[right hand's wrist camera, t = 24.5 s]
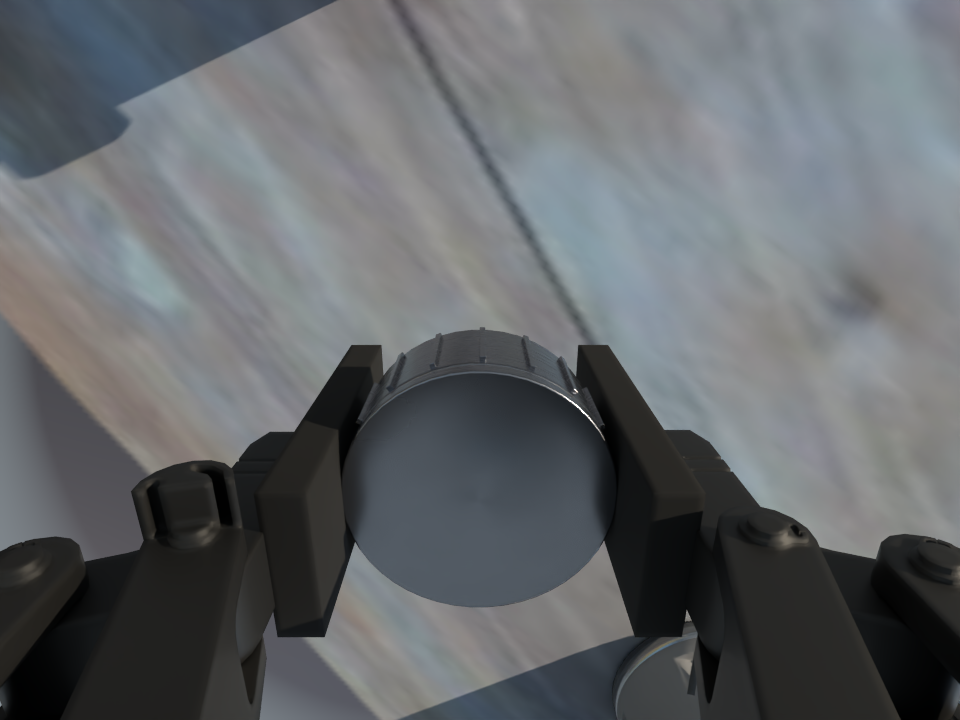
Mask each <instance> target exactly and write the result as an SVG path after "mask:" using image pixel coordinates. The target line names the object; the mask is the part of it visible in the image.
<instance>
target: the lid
mask: <svg viewBox="0 0 960 720" xmlns="http://www.w3.org/2000/svg"><path fill="white" fill-rule="evenodd" d="M356 423H357V424H359V426H358V428H357V431H356V433H355V435H354V437H353V440H352V442H351V444H350V447H349V449H348V452H347V455H346V457H345V460H344V465H343V469H342V474H341V487H342V498H343V508H344V516H345V520H346V523H347V525H348V528H349V530H350V533H351V535H352V537H353V539H354V540H355V542H356V544H357V545H358V547H359V549H360V550H361V551H362V553H363V554H364V555H365V556H366V558H367V559H368V560H369V561H370V562H371V563H372V564H373V565H374V566H375V567H376V568H377V569H378V570H379V571H380V572H381V573H382V574H384V575H385V576H386V577H387V578H389V579H390V580H391V581H393V582H394V583H396V584H398V585H399V586H401V587H403V588H404V589H406V590H408V591H410V592H412V593H415V594H417V595H419V596H421V597H424V598H427V599H430V600H433V601H436V602H440V603H445V604H450V605H455V606H465V607H494V606H504V605H509V604H513V603H518V602H522V601H525V600H528V599H531V598H535V597H537V596H539V595H542V594H544V593H546V592H548V591H551V590H552V589H554V588H556V587H557V586H559V585H561V584H563V583H564V582H566V581H567V580H568V579H570V578H571V577H572V576H574V575H575V574H576V573H578V572H579V571H580V570H581V569H582V568H583V567H584V566H585V565H586V564H587V563H588V562H589V561H590V560H591V558H592V557H593V556H594V555H595V553H596V552H597V551H598V549H599V548H600V546H601V545H602V543H603V541H604V540H605V538H606V536H607V534H608V531H609V529H610V527H611V524H612V522H613V518H614V514H615V510H616V502H617V493H618V478H617V471H616V467H615V462H614V458H613V456H612V453H611V450H610V448H609V445H608V443H607V440H606V438H605V436H604V434H603V431H602V430H603V429H605V428H606V427H605V425H604V423H603V421H602V419H601V416H600V414H599V412H598V410H597V408H596V405H595V403H594V401H593V399H592V397H591V395H590V392H589V390H588V388H587V387H586V388H584V389H583V387H582V386H581V384H580V382H579V380H578V379H577V378H576V376H575V375H574V374H573V372H572V371H571V370H570V369H569V368H568V367H567V364H566V362H565V359H564V358H563V357H562V356H561V357H560V358H558V357H557V356H555V355H554V354H553V353H551V352H550V351H549V350H547V349H545V348H544V347H542V346H540V345H538V344H537V343H535V342H533V341H530V340H529V338H528V336H525V335H523V337H520V336H517V335H513V334H509V333H505V332H499V331H491V330H485V328H484V327H480V330H467V331H459V332H453V333H450V334H446V335H441V333H439V334H436V337H435V338H433V339H431V340H428V341H426V342H424V343H422V344H420V345H419V346H417V347H415V348H413V349H411V350H410V351H409V352H407V353H406V354H405V355H404V354H403V353H401V354H400V355H399V356H398V358H397V361H396V362H395V363H394V364H393V365H392V366H391V367H390V368H389V369H388V371H387V372H386V373H385V375H384V376H383V377H382V378H381V380H380V381H379V383H378V384H377V383H374V384H373V386H372V388H371V390H370V392H369V395H368V397H367V399H366V401H365V403H364V406H363V408H362V410H361V412H360V414H359V417H358V419H357V421H356Z"/></svg>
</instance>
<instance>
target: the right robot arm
mask: <svg viewBox="0 0 960 720" xmlns="http://www.w3.org/2000/svg"><path fill="white" fill-rule="evenodd" d="M382 377H383V363H382V348H381V345H351V347H350V348H349V350H348V351H347V353H346V354H345V356H344V357H343V359H342V360H341V362H340V363H339V365H338V367H337V368H336V370H335V371H334V373H333V374H332V376H331V377H330V379H329V380H328V382H327V383H326V385H325V386H324V388H323V389H322V391H321V392H320V394H319V395H318V397H317V398H316V400H315V401H314V403H313V404H312V406H311V407H310V409H309V410H308V412H307V413H306V415H305V416H304V418H303V419H302V421H301V422H300V424H299V426H298V427H297V429H296V430H295V432H269V433H268V434H266V435H264V436H263V437H261V438H260V439H258V440H256V441H255V442H253V443H252V444H250V445H249V447H248V448H247V449H246V451H245V452H244V453H243V454H242V456H241V457H240V458H239V462H236V463H235V465H234V466H233V467H232V468H230V467H229V466H228V465H226V464H225V463H221V462H216V461H212V460H205V461H190V462H185V463H181V464H176V465H172V466H170V467H167V468H165V469H162V470H159V471H157V472H155V473H153V474H151V475H150V476H148V477H146V478H145V479H143V480H141V481H140V482H139V483H138V484H137V485H136V487H135V488H134V489H133V490H132V491H131V493H132V497H133V501H134V505H135V509H136V512H137V516H138V520H139V524H140V528H141V532H142V535H143V539H144V541H143V543H142V546H141V548H140V550H137V551H133V552H129V553H125V554H120V555H115V556H110V557H105V558H100V559H96V560H91V561H86V562H84V559H83V556H82V553H81V549H80V546H79V545H78V544H77V543H76V542H74V541H73V540H72V539H70V538H62V537H48V538H39V539H33V540H28V541H25V542H24V543H22V542H21V543H18V544H15V545H12V546H10V547H8V548H7V549H5V550H2V551H0V702H1V704H2V706H1V707H0V720H259V719H260V710H261V701H262V693H263V684H264V676H265V667H266V659H267V658H266V651H265V645H264V639H263V633H264V631H265V628H266V626H267V624H268V622H269V619H270V617H271V615H272V613H273V612H274V618H275V624H276V630H277V636H278V637H325V634H326V631H327V628H328V625H329V622H330V618H331V615H332V612H333V609H334V606H335V603H336V600H337V597H338V593H339V590H340V587H341V584H342V581H343V578H344V575H345V571H346V568H347V565H348V562H349V559H350V556H351V553H352V550H353V546H354V543H355V540H354V539H353V537H352V535H351V533H350V530H349V528H348V525H347V523H346V520H345V516H344V508H343V498H342V487H341V474H342V469H343V465H344V460H345V457H346V455H347V452H348V449H349V447H350V444H351V442H352V440H353V437H354V435H355V433H356V431H357V428H358V426H359V424H357V423H356V421H357V419H358V417H359V414H360V412H361V410H362V408H363V406H364V403H365V401H366V399H367V397H368V395H369V392H370V390H371V388H372V386H373V384H374V383H377V384H378V383H379V381H380V380H381V378H382ZM576 378H577V379H578V380H579V382H580V384H581V386H582V387H583V389H584V388H586V387H587V388H588V390H589V392H590V395H591V397H592V399H593V401H594V403H595V405H596V408H597V410H598V412H599V414H600V416H601V419H602V421H603V423H604V425H605V427H606V428H605V429H603V430H602V431H603V434H604V436H605V438H606V440H607V443H608V445H609V448H610V450H611V453H612V456H613V458H614V462H615V467H616V471H617V478H618V493H617V502H616V510H615V514H614V518H613V522H612V524H611V527H610V529H609V531H608V534H607V536H606V538H605V540H604V541H605V544H606V547H607V551H608V554H609V557H610V560H611V563H612V566H613V569H614V573H615V576H616V579H617V582H618V585H619V588H620V591H621V594H622V598H623V601H624V604H625V607H626V610H627V613H628V616H629V620H630V623H631V626H632V629H633V632H634V635H635V637H650V638H648V639H647V640H645V641H644V642H643V643H641V644H640V645H639V646H638V647H636V648H635V649H634V650H633V651H632V652H631V653H630V654H629V655H628V656H627V658H626V659H625V660H624V661H623V663H622V664H621V666H620V668H619V670H618V672H617V674H616V676H615V679H614V683H613V690H612V698H613V704H614V709H615V713H616V717H617V720H960V704H959V700H960V548H957V547H955V546H953V545H952V544H950V543H948V542H945V541H942V540H939V539H938V540H936V539H935V538H931V537H926V536H917V535H909V534H901V535H894V536H889V537H888V538H886V539H885V540H884V541H882V542H881V545H880V548H879V551H878V554H877V557H876V559H872V558H867V557H862V556H857V555H852V554H847V553H842V552H837V551H832V550H828V549H825V548H821V547H819V545H818V542H817V540H816V539H815V538H814V536H813V535H812V534H811V532H810V531H809V530H808V529H807V528H806V527H805V526H803V525H802V524H800V523H799V522H798V521H796V520H795V519H793V518H791V517H789V516H787V515H784V514H782V513H780V512H778V511H775V510H771V509H767V508H763V507H760V506H759V505H758V503H757V502H756V501H755V499H754V498H753V497H752V496H751V494H750V493H749V492H748V491H747V489H746V488H745V487H744V486H743V484H742V483H741V482H740V480H739V479H738V478H737V477H736V475H735V474H734V473H733V472H730V468H729V466H728V465H727V464H726V463H725V461H724V460H721V456H720V455H719V454H718V453H717V451H716V450H715V449H714V447H713V446H712V445H711V444H710V442H708V441H706V440H705V439H703V438H702V437H700V436H698V435H697V434H695V433H694V432H692V431H690V430H664V429H663V428H662V426H661V425H660V423H659V422H658V420H657V418H656V417H655V415H654V414H653V412H652V411H651V409H650V408H649V406H648V405H647V403H646V402H645V400H644V399H643V397H642V396H641V394H640V393H639V391H638V390H637V388H636V387H635V385H634V384H633V382H632V381H631V379H630V378H629V376H628V375H627V373H626V372H625V370H624V369H623V367H622V366H621V364H620V362H619V361H618V359H617V358H616V356H615V355H614V353H613V352H612V350H611V349H610V347H609V346H608V345H578V358H577V373H576ZM686 610H687V611H688V613H689V615H690V617H691V620H692V622H689V623H685V624H684V622H685V616H686Z"/></svg>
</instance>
